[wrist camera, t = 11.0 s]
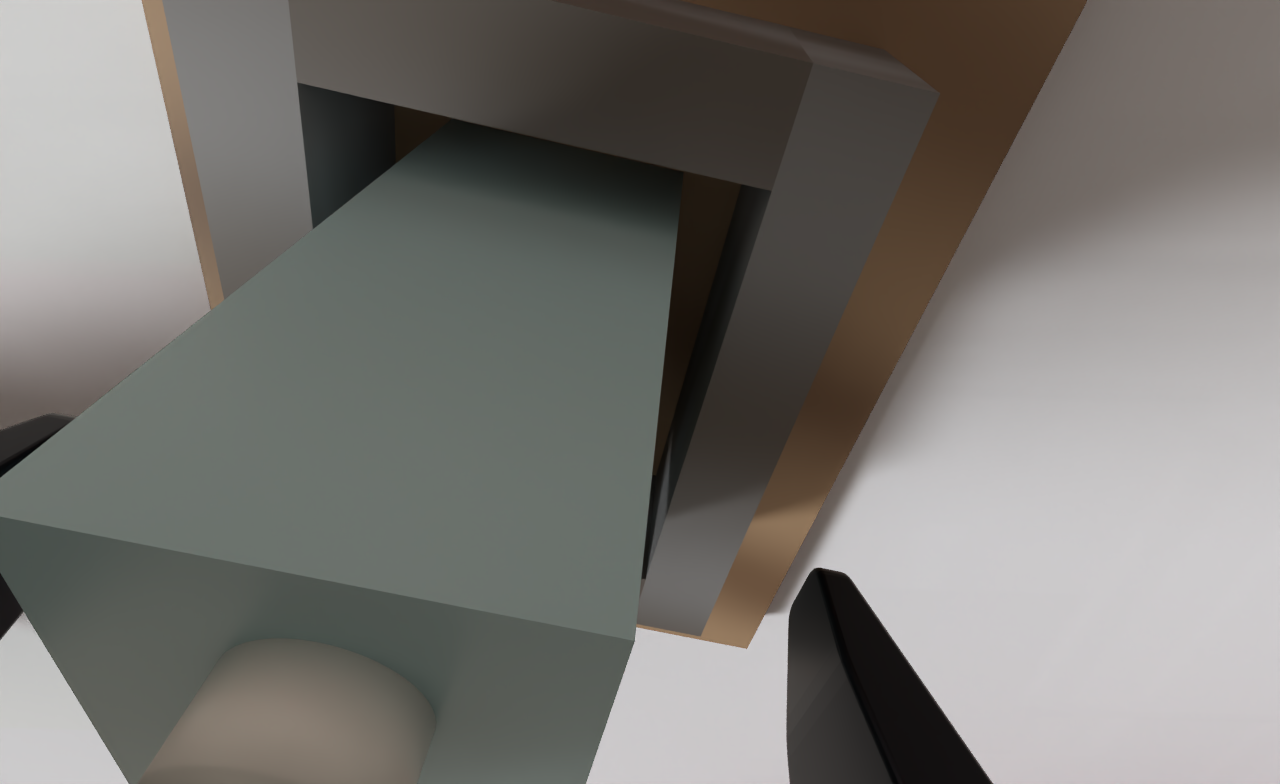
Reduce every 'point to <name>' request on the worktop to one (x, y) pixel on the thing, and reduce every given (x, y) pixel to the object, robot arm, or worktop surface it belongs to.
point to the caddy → (709, 210)
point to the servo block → (375, 488)
